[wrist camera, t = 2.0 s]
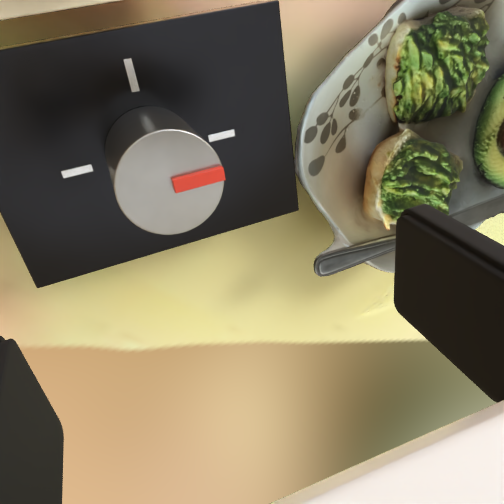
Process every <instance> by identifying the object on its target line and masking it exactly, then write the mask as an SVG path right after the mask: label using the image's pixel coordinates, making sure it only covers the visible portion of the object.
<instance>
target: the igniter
mask: <svg viewBox="0 0 504 504" xmlns="http://www.w3.org/2000/svg"><path fill="white" fill-rule="evenodd" d="M116 1H122V0H0V21H1V20H7V19H13V18H19V17H25V16H31V15H37V14H43V13H49V12H56V11H62V10H68V9H74V8H80V7H86V6H92V5H98V4H104V3H110V2H116Z"/></svg>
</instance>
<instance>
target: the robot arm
mask: <svg viewBox="0 0 504 504" xmlns="http://www.w3.org/2000/svg"><path fill="white" fill-rule="evenodd" d="M394 304H395V307H396V309H397V311H398V312H399V313H400V314H401V315H402V316H403V317H404V318H405V319H406V320H407V321H408V322H409V323H410V324H411V325H412V326H413V327H414V328H416V329H417V330H418V331H419V332H420V333H421V334H422V335H423V336H424V337H425V338H426V339H427V340H428V341H430V342H431V343H432V344H433V345H434V346H435V347H436V348H437V349H438V350H439V351H440V352H441V353H442V354H443V355H445V356H446V357H447V358H448V359H449V360H450V361H451V362H452V363H453V364H454V365H455V366H457V368H459V369H460V370H461V371H462V372H463V373H464V374H465V375H466V376H467V377H468V378H469V379H470V380H471V381H473V382H474V383H475V384H476V385H477V386H478V387H479V388H480V389H481V390H482V391H483V392H485V394H486V395H488V396H489V397H490V398H491V399H492V400H493V401H495V402H497V403H496V404H494V405H491V406H490V407H487V408H485V409H482V410H480V411H478V412H475V413H473V414H471V415H469V416H466V417H464V418H462V419H459V420H457V421H455V422H452V423H450V424H448V425H446V426H444V427H441V428H439V429H437V430H434V431H432V432H430V433H427V434H425V435H423V436H421V437H418V438H416V439H414V440H412V441H409V442H407V443H405V444H403V445H401V446H398V447H396V448H393V449H391V450H389V451H387V452H384V453H382V454H380V455H378V456H376V457H373V458H371V459H369V460H366V461H364V462H362V463H360V464H357V465H355V466H353V467H351V468H348V469H346V470H344V471H342V472H339V473H337V474H335V475H333V476H330V477H328V478H326V479H324V480H322V481H319V482H317V483H315V484H312V485H310V486H308V487H306V488H303V489H301V490H299V491H297V492H294V493H292V494H290V495H288V496H285V497H283V498H281V499H279V500H277V501H274V502H272V503H270V504H504V246H503V245H501V244H500V243H498V242H496V241H494V240H492V239H490V238H489V237H487V236H485V235H483V234H481V233H479V232H478V231H476V230H474V229H472V228H470V227H469V226H467V225H465V224H463V223H461V222H459V221H458V220H456V219H454V218H452V217H450V216H448V215H447V214H445V213H443V212H441V211H439V210H437V209H436V208H434V207H432V206H430V205H428V204H421V205H418V206H415V207H411V208H408V209H405V210H404V211H402V213H401V216H400V217H399V218H398V219H397V222H396V245H395V277H394ZM63 440H64V437H63V429H62V425H61V422H60V420H59V418H58V417H57V415H56V413H55V411H54V409H53V408H52V406H51V404H50V402H49V401H48V399H47V397H46V395H45V393H44V392H43V390H42V388H41V386H40V384H39V383H38V381H37V379H36V377H35V375H34V374H33V372H32V370H31V369H30V366H29V365H28V363H27V361H26V359H25V358H24V356H23V354H22V352H21V350H20V348H19V347H18V345H17V343H16V342H15V341H14V340H13V339H8V340H5V339H4V338H3V337H2V336H0V504H62V481H63V480H62V479H63V478H62V477H63V476H62V475H63V442H64V441H63Z"/></svg>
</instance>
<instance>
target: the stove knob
mask: <svg viewBox="0 0 504 504" xmlns="http://www.w3.org/2000/svg"><path fill="white" fill-rule="evenodd" d="M105 156H106V161H107V165H108V169H109V173H110V177H111V181H112V185H113V188H114V192H115V196H116V200H117V202H118V205H119V207H120V208H121V210H122V212H123V213H124V214H125V216H126V217H127V218H128V219H129V220H130V221H131V222H132V223H134V224H135V225H136V226H138V227H140V228H141V229H143V230H146V231H148V232H151V233H155V234H162V235H172V234H179V233H183V232H186V231H189V230H191V229H193V228H195V227H197V226H199V225H200V224H202V223H203V222H204V221H205V220H206V219H207V218H208V217H209V216H210V215H211V214H212V213H213V211H214V210H215V209H216V207H217V205H218V203H219V201H220V199H221V196H222V192H223V187H224V180H226V179H225V173H224V168H223V167H222V164H221V162H220V159H219V157H218V155H217V154H216V152H215V151H214V149H213V148H212V147H211V146H210V145H209V144H208V143H207V142H206V141H205V140H204V139H203V138H202V137H201V136H200V135H199V134H198V133H197V132H196V131H194V130H193V129H192V128H191V127H190V126H189V125H188V124H187V123H186V122H185V121H184V120H183V119H182V118H181V117H179V116H178V115H177V114H175V113H174V112H172V111H170V110H167V109H165V108H161V107H156V106H144V107H139V108H135V109H133V110H130V111H128V112H127V113H125V114H124V115H122V116H121V117H120V118H119V119H118V120H117V121H116V122H115V123H114V124H113V126H112V127H111V129H110V131H109V133H108V136H107V139H106V144H105Z"/></svg>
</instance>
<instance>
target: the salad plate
mask: <svg viewBox="0 0 504 504" xmlns="http://www.w3.org/2000/svg"><path fill="white" fill-rule="evenodd" d="M294 167H295V172H296V174H297V176H298V179H299V181H300V183H301V185H302V186H303V188H304V189H305V190H306V191H307V193H308V194H309V196H310V198H311V200H312V201H313V203H314V204H315V205H316V207H317V209H318V210H319V211H320V212H321V213H322V214H323V216H324V217H325V219H327V221H328V222H329V225H330V227H331V229H332V230H333V232H334V241H333V243H332V244H331V246H330V247H328V248H327V249H326V250H325V251H323V252H321V253H320V254H319V255H318V256H317V257H316V258H315V261H314V271H315V273H316V274H317V275H318V276H320V277H322V276H328V275H332V274H335V273H337V272H340V271H343V270H345V269H348V268H351V267H353V266H356V265H358V264H361V263H363V262H364V263H366V264H368V265H370V266H372V267H374V268H376V269H379V270H381V271H385V272H391V273H395V245H396V222H397V219H398V218H399V217H400V216H401V213H402V211H404V210H405V209H408V208H411V207H415V206H418V205H421V204H428V205H430V206H432V207H434V208H436V209H437V210H439V211H441V212H443V213H445V214H447V215H448V216H450V217H452V218H454V219H456V220H458V221H459V222H461V223H463V224H465V225H467V226H469V227H470V228H472V229H474V230H475V229H476V228H478V227H479V226H480V225H481V224H482V223H483V222H484V221H485V220H486V219H488V218H490V217H494V216H496V215H497V214H499V213H504V0H397V1H396V2H395V3H394V4H393V5H392V6H391V8H390V9H389V10H388V11H387V13H386V15H385V16H384V18H383V19H382V20H381V21H380V22H379V23H378V24H377V25H376V26H375V27H374V28H373V29H372V30H371V31H370V32H369V33H368V34H367V35H366V36H365V37H364V38H363V39H362V40H361V41H360V42H359V43H358V44H357V45H356V46H355V47H354V48H353V49H351V50H350V51H349V52H348V53H347V54H346V55H345V56H344V57H343V58H342V60H341V61H340V62H339V63H338V65H337V66H336V67H335V68H334V69H333V70H332V71H331V73H330V74H329V75H328V76H327V78H326V79H325V80H324V81H323V82H322V84H321V85H320V86H318V87H317V89H316V90H315V91H314V92H313V93H312V95H311V96H310V98H309V101H308V103H307V105H306V107H305V109H304V112H303V115H302V118H301V120H300V123H299V125H298V129H297V138H296V145H295V160H294Z"/></svg>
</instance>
